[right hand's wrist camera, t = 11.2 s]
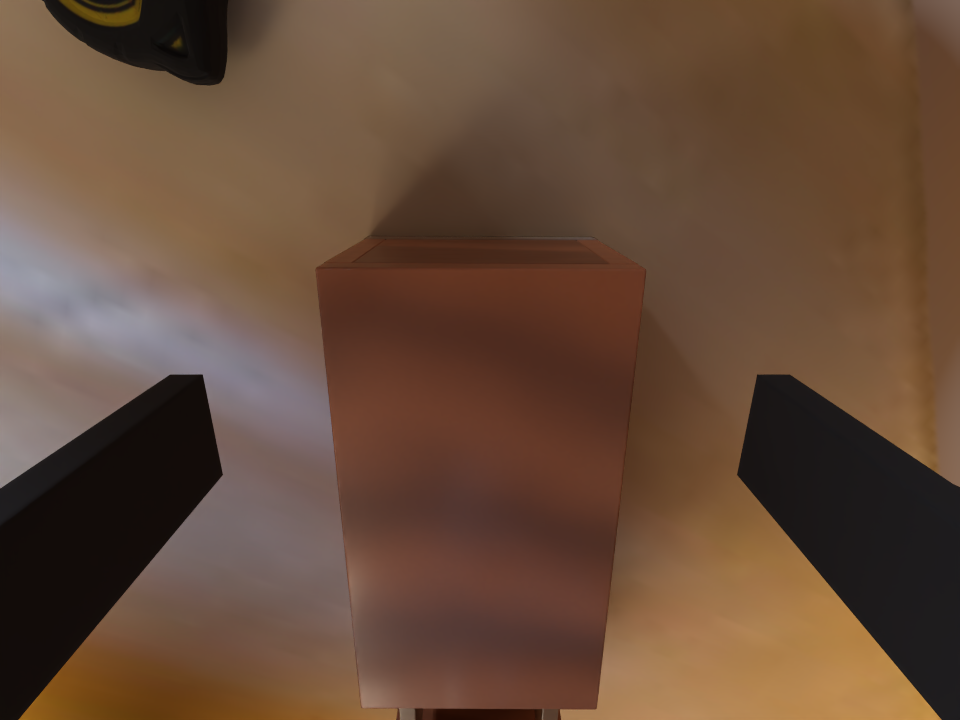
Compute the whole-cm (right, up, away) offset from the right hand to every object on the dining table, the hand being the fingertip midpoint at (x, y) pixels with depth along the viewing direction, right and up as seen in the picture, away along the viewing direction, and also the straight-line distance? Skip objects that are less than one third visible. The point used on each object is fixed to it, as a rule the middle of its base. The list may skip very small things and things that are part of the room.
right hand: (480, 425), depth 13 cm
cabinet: (0, -2, +16) cm, 16 cm away
